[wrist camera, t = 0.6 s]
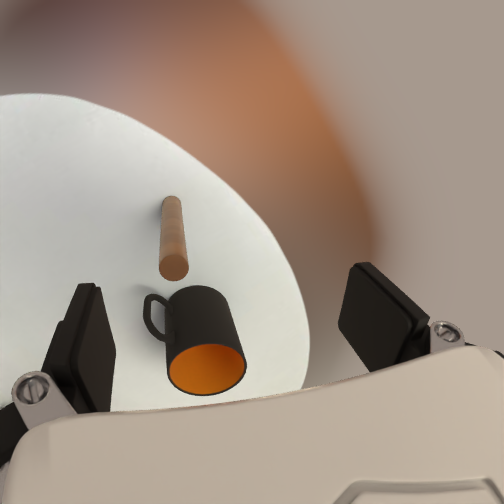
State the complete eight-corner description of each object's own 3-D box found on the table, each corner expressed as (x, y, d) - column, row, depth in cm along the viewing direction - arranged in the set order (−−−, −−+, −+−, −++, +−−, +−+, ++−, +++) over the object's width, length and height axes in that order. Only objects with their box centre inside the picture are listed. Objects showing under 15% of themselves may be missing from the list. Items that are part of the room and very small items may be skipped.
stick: (162, 196, 32) (157, 255, 20) (180, 195, 32) (188, 254, 20) (162, 214, 33) (159, 282, 20) (181, 213, 33) (189, 280, 21)
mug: (167, 255, 35) (168, 309, 26) (241, 306, 40) (263, 362, 31) (127, 303, 36) (120, 363, 27) (201, 345, 42) (212, 404, 33)
